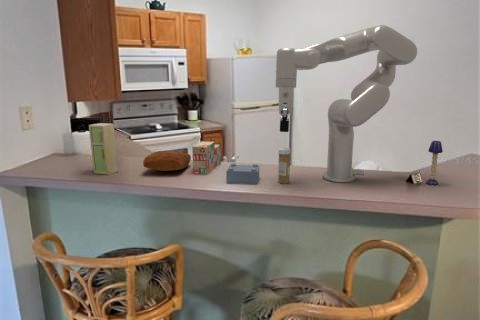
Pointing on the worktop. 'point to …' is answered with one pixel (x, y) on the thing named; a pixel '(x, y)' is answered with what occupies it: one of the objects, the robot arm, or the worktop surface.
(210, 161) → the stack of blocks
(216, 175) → the worktop surface
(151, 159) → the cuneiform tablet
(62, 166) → the worktop surface
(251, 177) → the base brick
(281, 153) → the sprinkles bottle
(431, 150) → the toy lamp
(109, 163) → the toy refrigerator
